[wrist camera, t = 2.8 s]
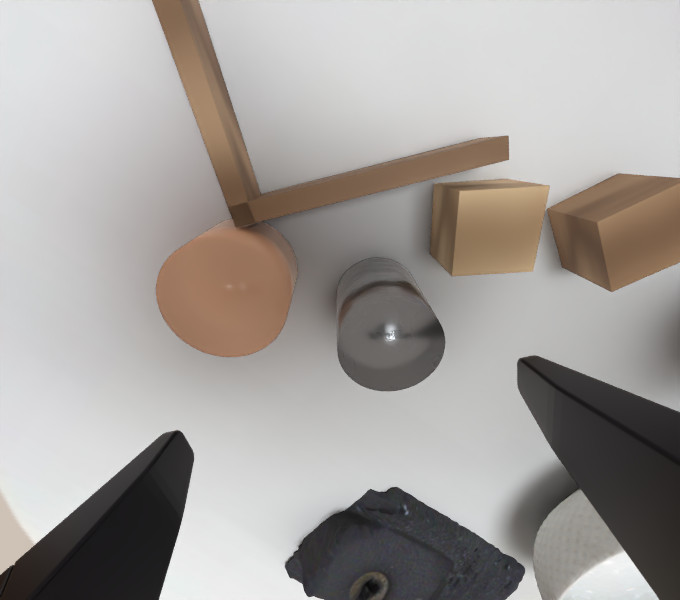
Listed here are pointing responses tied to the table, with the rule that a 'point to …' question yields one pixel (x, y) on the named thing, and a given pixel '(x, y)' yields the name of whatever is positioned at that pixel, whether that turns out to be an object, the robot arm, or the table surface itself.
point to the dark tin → (386, 327)
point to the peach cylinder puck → (229, 288)
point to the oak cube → (487, 226)
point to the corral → (231, 155)
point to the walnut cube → (619, 229)
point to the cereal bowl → (584, 557)
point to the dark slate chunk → (400, 555)
